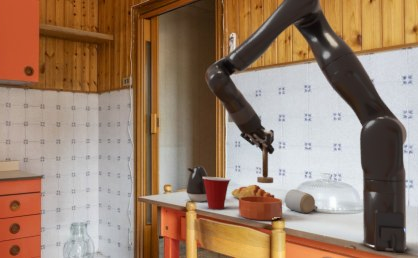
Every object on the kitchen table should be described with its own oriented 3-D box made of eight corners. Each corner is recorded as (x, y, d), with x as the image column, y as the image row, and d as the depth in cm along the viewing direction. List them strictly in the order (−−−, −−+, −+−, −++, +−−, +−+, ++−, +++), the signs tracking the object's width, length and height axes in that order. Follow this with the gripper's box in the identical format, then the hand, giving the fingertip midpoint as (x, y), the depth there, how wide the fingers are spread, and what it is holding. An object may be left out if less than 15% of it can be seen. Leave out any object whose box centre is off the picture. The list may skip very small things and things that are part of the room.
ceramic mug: (301, 214, 142) (301, 192, 142) (284, 210, 150) (284, 189, 150) (323, 212, 146) (323, 191, 146) (305, 208, 154) (305, 188, 154)
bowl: (283, 222, 131) (283, 204, 131) (238, 219, 135) (238, 201, 135) (280, 213, 144) (280, 197, 144) (239, 211, 148) (239, 195, 148)
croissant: (228, 205, 180) (222, 190, 178) (239, 192, 186) (234, 177, 183) (271, 211, 164) (265, 194, 161) (282, 197, 169) (277, 181, 167)
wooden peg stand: (273, 183, 134) (273, 140, 134) (257, 182, 136) (257, 140, 136) (272, 181, 139) (272, 140, 139) (257, 181, 141) (257, 140, 141)
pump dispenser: (181, 200, 174) (181, 165, 174) (201, 198, 179) (201, 164, 179) (194, 203, 165) (194, 166, 165) (215, 201, 169) (215, 165, 169)
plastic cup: (236, 209, 153) (236, 177, 153) (212, 211, 149) (212, 179, 149) (220, 204, 163) (220, 175, 163) (197, 206, 159) (197, 176, 159)
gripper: (266, 107, 128) (291, 144, 134) (234, 109, 140) (259, 143, 146) (254, 123, 125) (280, 161, 131) (223, 124, 137) (248, 158, 143)
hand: (269, 152), depth 139 cm, fingers closed on wooden peg stand
